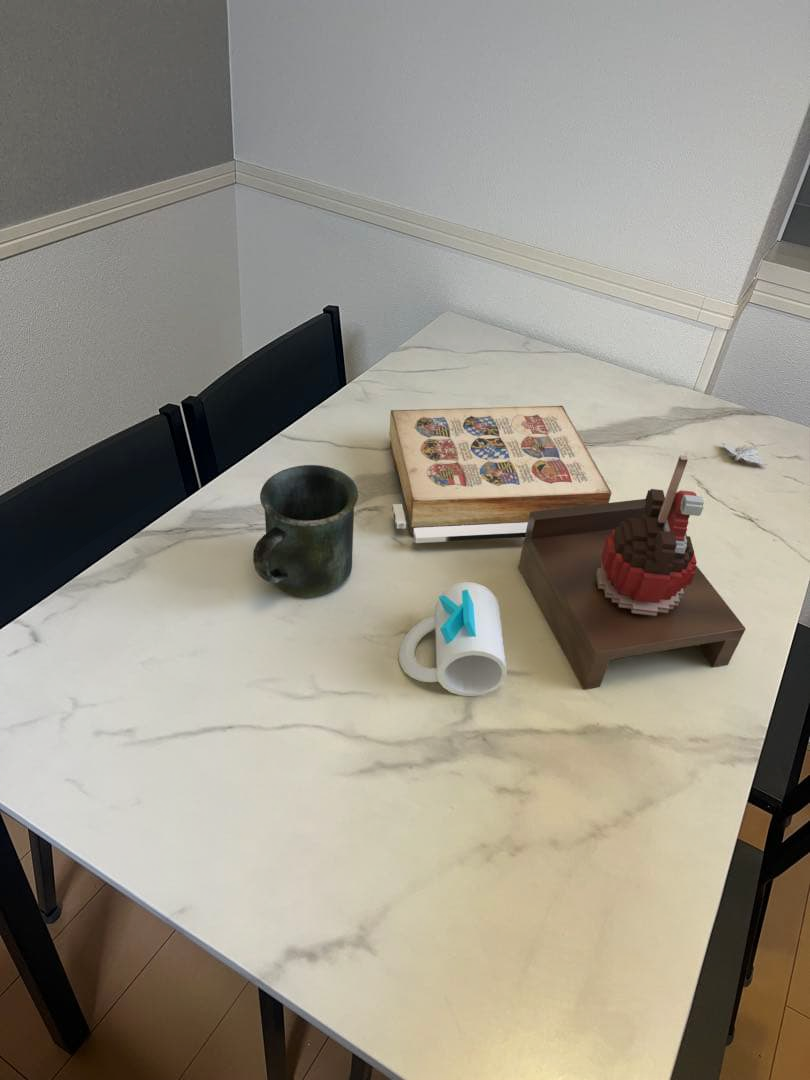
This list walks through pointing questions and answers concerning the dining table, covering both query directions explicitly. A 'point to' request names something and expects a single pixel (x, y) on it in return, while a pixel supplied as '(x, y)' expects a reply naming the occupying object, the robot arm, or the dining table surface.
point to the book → (488, 470)
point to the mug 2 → (461, 642)
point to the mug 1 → (307, 530)
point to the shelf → (594, 620)
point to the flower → (745, 453)
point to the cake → (652, 551)
